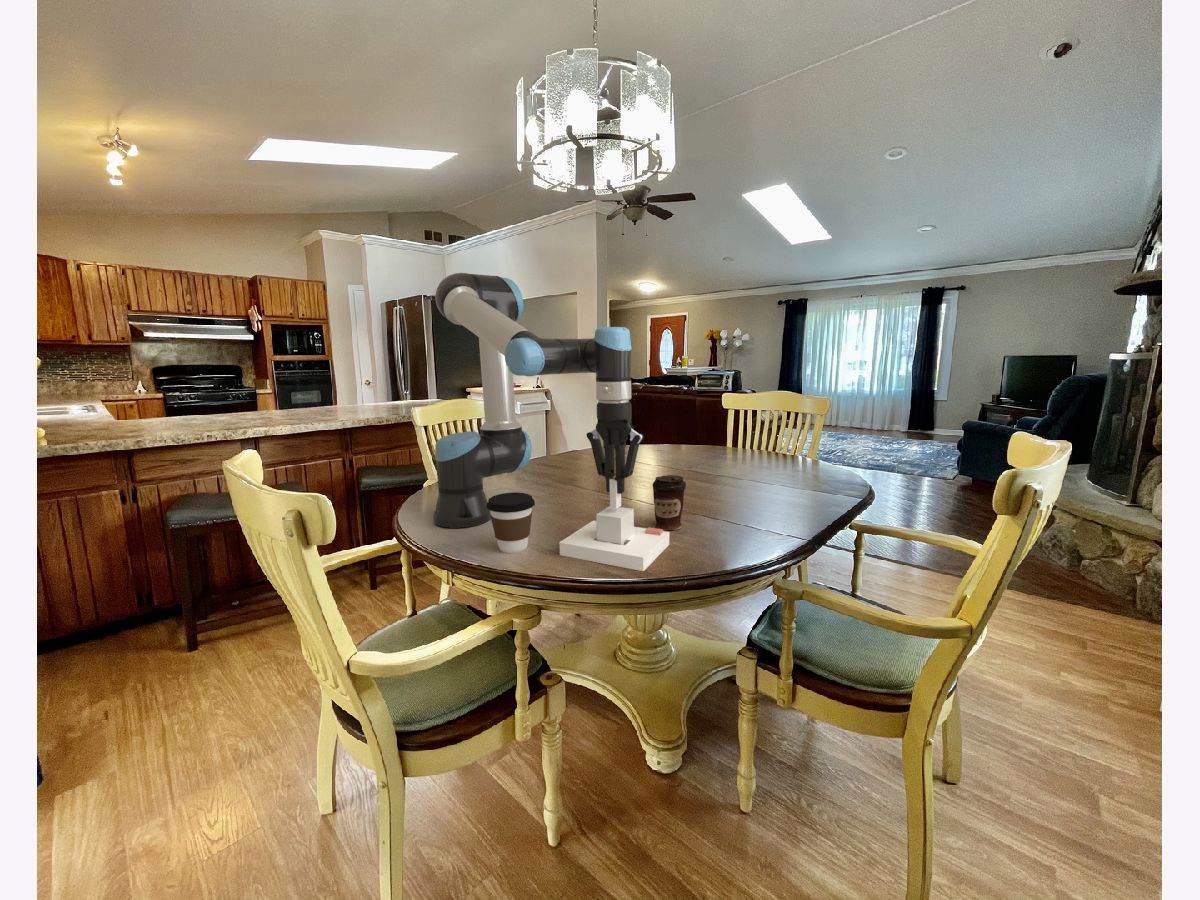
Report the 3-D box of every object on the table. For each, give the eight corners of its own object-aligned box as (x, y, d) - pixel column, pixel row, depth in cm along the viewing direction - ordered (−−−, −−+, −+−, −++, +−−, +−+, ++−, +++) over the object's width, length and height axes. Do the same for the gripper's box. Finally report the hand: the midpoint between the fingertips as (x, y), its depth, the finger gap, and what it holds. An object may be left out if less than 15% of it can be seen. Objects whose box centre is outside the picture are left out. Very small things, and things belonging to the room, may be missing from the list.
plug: (621, 556, 109) (620, 518, 107) (596, 552, 112) (596, 514, 110) (633, 545, 115) (633, 508, 113) (610, 541, 118) (610, 505, 116)
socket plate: (643, 571, 102) (643, 553, 101) (559, 555, 111) (559, 538, 110) (669, 544, 116) (669, 528, 115) (593, 531, 125) (593, 517, 124)
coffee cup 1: (495, 539, 121) (492, 491, 119) (540, 539, 121) (538, 491, 118) (483, 557, 110) (480, 505, 108) (532, 557, 110) (530, 505, 108)
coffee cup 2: (684, 534, 122) (685, 482, 120) (650, 532, 124) (650, 481, 121) (685, 522, 131) (686, 474, 128) (654, 520, 132) (654, 473, 130)
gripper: (578, 402, 107) (582, 508, 111) (635, 403, 101) (636, 515, 105) (595, 399, 113) (597, 499, 118) (648, 400, 107) (649, 505, 112)
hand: (615, 506), depth 111 cm, fingers closed
